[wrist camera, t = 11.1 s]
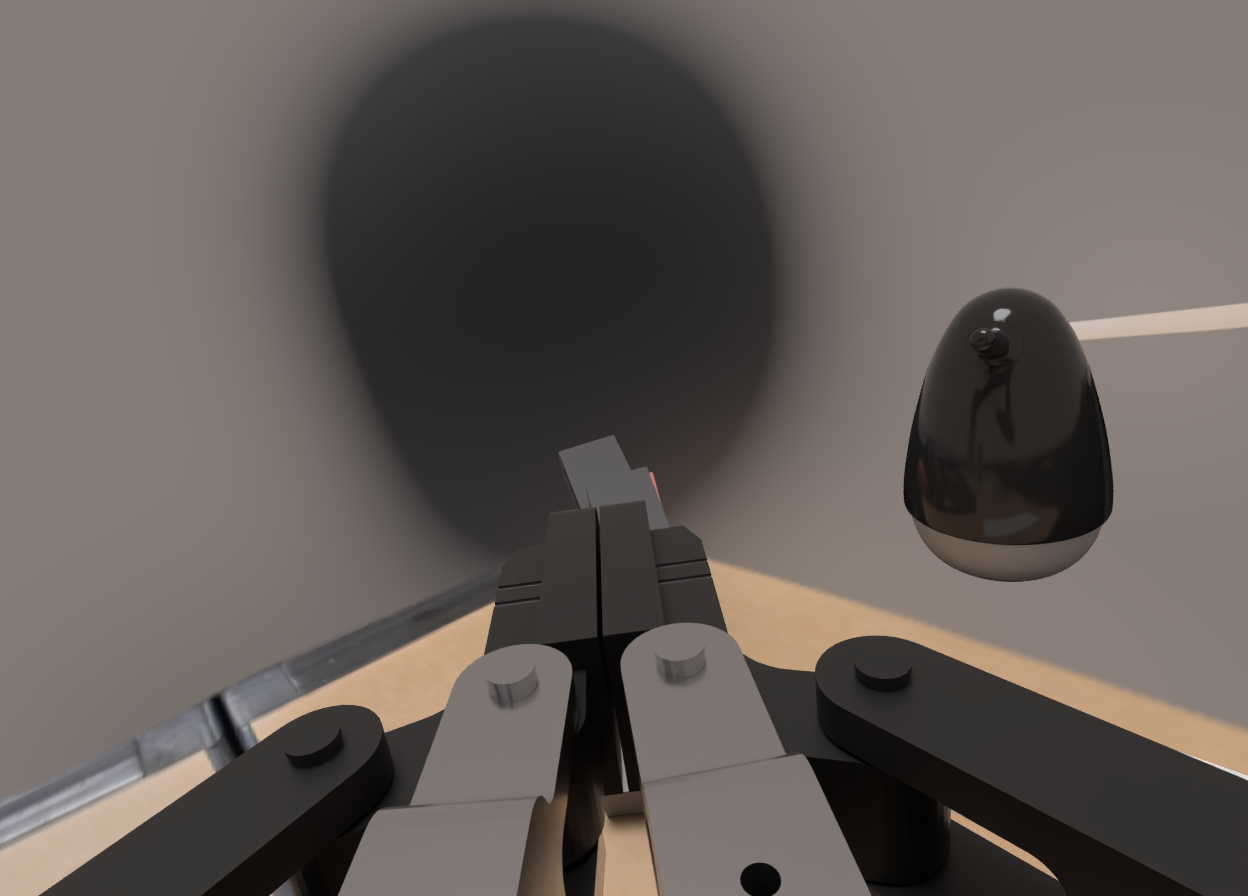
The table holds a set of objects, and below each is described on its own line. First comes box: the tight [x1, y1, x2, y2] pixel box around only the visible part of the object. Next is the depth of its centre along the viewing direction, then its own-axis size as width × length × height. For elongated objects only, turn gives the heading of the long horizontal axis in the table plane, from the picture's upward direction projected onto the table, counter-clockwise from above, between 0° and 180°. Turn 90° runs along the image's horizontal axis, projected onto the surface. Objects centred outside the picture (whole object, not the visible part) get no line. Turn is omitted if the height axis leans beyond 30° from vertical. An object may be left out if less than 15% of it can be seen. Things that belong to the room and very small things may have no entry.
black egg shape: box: [903, 287, 1114, 582], centre depth 41 cm, size 10×10×15 cm
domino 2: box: [585, 467, 670, 530], centre depth 46 cm, size 2×4×10 cm
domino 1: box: [559, 435, 631, 509], centre depth 51 cm, size 2×4×10 cm
